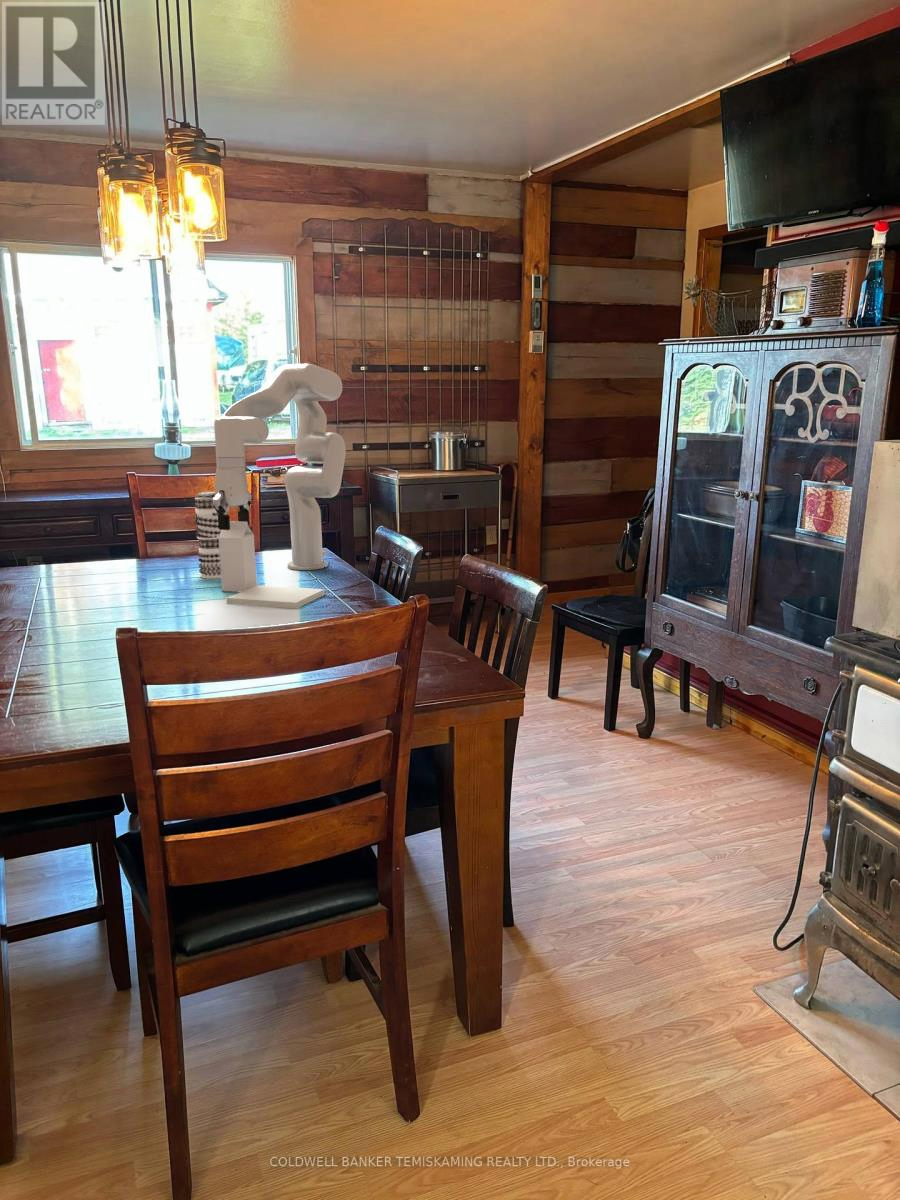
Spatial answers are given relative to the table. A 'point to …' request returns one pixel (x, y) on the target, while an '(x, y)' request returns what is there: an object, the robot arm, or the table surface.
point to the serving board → (276, 596)
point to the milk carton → (237, 557)
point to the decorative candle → (207, 535)
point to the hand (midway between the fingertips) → (234, 527)
